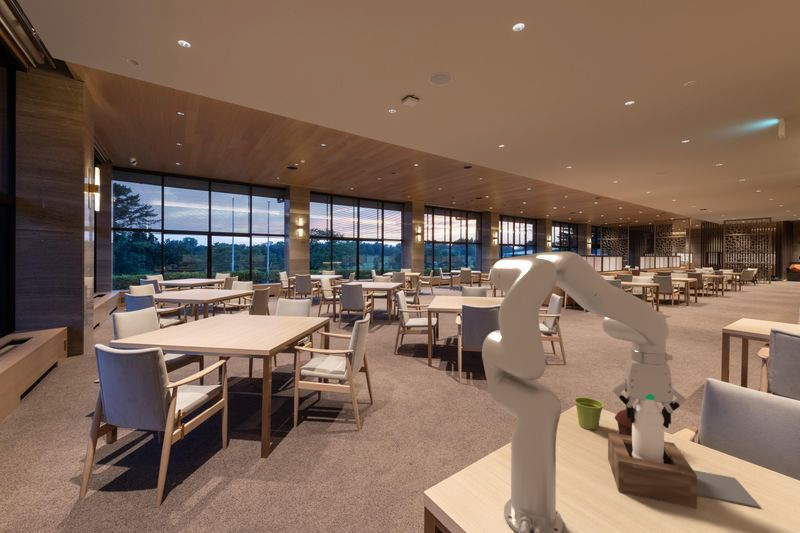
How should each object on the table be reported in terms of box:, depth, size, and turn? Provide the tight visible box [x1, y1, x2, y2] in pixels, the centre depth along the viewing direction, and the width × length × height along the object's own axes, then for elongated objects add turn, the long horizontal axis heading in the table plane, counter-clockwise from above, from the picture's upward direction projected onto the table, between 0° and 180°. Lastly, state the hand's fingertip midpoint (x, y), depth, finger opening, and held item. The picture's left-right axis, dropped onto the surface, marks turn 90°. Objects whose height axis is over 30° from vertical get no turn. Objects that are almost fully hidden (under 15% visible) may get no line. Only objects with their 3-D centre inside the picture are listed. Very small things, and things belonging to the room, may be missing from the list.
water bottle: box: [632, 394, 665, 463], centre depth 92 cm, size 7×7×25 cm
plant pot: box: [573, 396, 605, 431], centre depth 123 cm, size 9×9×9 cm
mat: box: [693, 469, 761, 509], centre depth 90 cm, size 12×12×1 cm
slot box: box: [607, 431, 698, 510], centre depth 92 cm, size 16×16×8 cm
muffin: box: [614, 408, 632, 436], centre depth 113 cm, size 12×11×10 cm
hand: (647, 422), depth 92 cm, fingers closed on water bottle, 7 cm apart
